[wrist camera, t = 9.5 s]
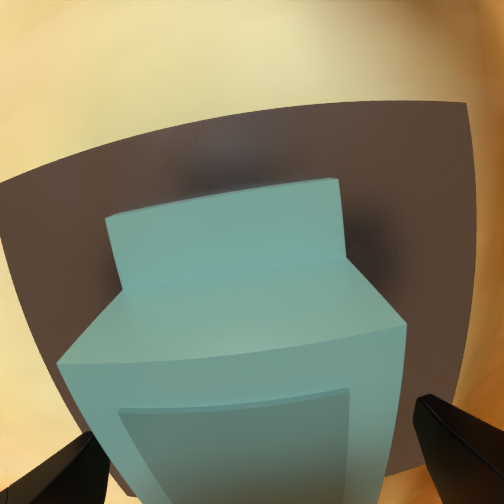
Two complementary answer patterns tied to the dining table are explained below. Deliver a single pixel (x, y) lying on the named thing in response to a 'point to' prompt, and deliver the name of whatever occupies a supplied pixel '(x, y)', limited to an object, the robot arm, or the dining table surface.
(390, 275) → the stand
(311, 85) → the dining table surface
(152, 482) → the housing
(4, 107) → the dining table surface
